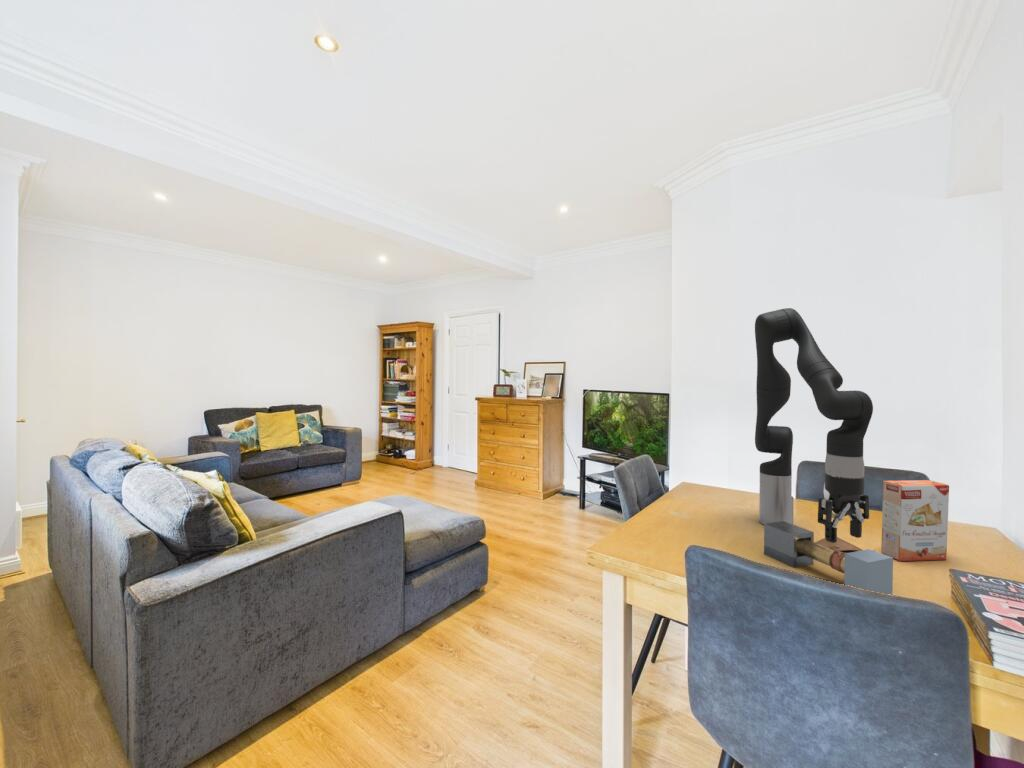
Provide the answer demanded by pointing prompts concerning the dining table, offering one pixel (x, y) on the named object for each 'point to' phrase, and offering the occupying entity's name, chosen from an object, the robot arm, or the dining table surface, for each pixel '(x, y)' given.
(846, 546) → the sunglasses case
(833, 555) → the rod
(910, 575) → the dining table surface
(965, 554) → the dining table surface
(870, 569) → the socket
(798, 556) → the sleeve
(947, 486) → the cracker box
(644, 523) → the dining table surface
